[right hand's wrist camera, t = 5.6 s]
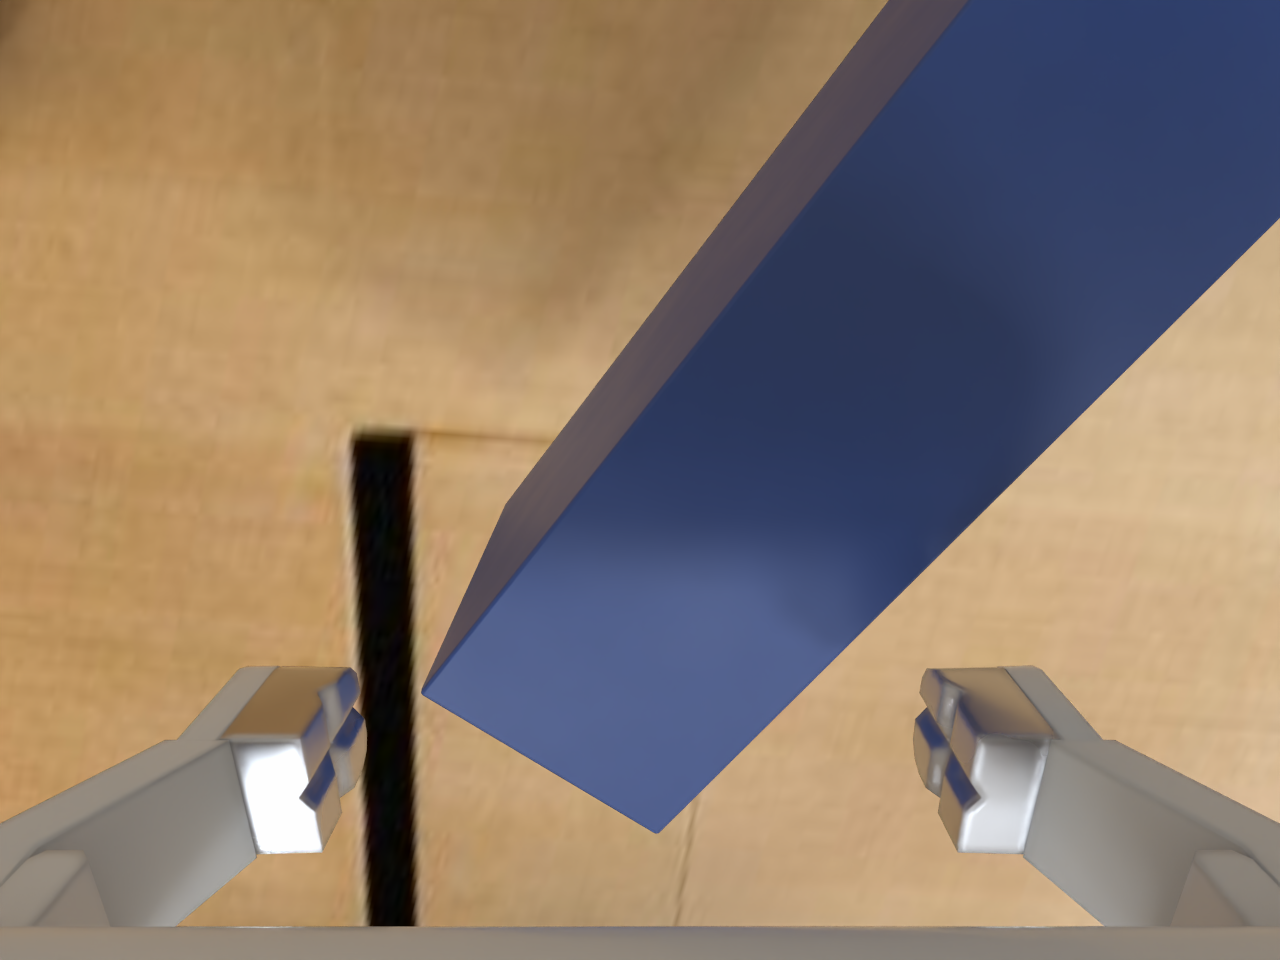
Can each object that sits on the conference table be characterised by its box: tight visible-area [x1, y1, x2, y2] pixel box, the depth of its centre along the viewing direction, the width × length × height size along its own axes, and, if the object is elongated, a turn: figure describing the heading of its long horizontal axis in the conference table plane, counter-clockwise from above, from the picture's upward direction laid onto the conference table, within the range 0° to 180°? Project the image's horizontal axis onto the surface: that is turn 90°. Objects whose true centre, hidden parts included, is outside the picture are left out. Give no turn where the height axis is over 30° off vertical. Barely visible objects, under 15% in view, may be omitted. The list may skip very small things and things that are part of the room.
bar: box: [421, 0, 1280, 833], centre depth 13 cm, size 27×5×8 cm, turn 142°
